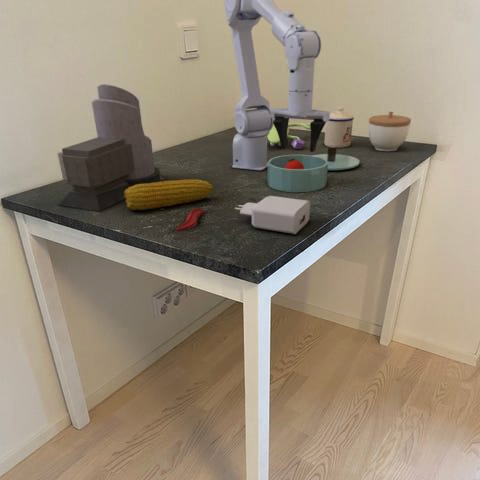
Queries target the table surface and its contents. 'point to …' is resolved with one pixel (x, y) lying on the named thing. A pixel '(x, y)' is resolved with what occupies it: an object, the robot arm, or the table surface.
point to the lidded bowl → (388, 131)
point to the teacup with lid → (339, 129)
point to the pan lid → (338, 160)
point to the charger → (277, 214)
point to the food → (166, 193)
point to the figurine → (297, 141)
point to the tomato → (294, 164)
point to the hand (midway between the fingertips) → (298, 149)
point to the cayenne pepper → (191, 219)
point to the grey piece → (109, 154)
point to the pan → (297, 173)
